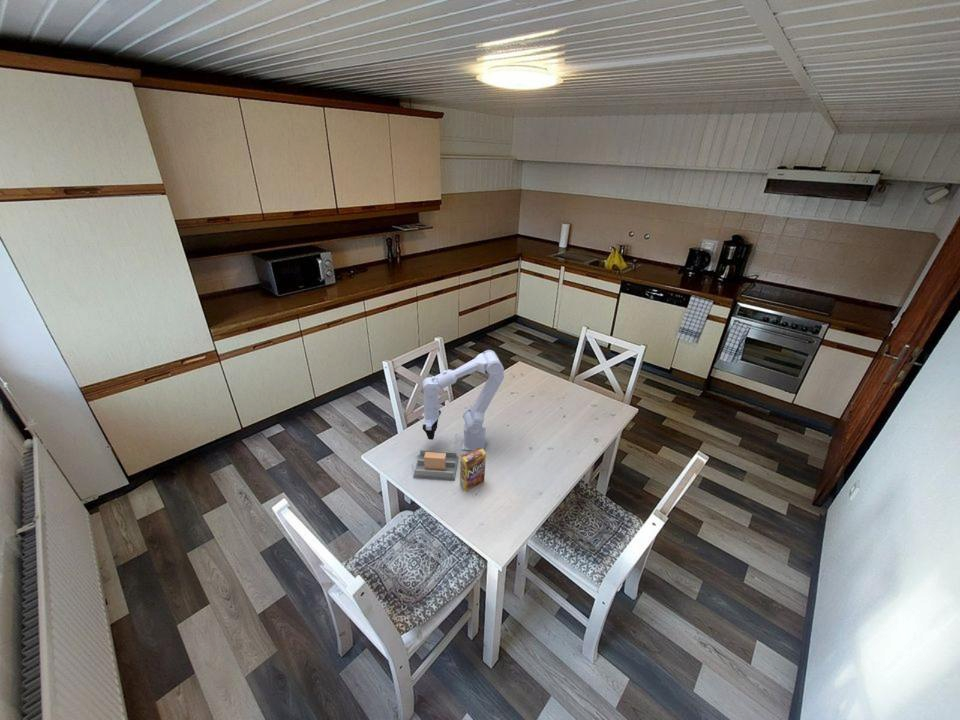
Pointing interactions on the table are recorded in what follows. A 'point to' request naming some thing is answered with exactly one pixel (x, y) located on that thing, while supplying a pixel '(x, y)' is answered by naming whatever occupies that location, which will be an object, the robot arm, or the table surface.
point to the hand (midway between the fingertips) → (432, 432)
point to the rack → (435, 474)
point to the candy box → (472, 468)
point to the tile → (435, 461)
